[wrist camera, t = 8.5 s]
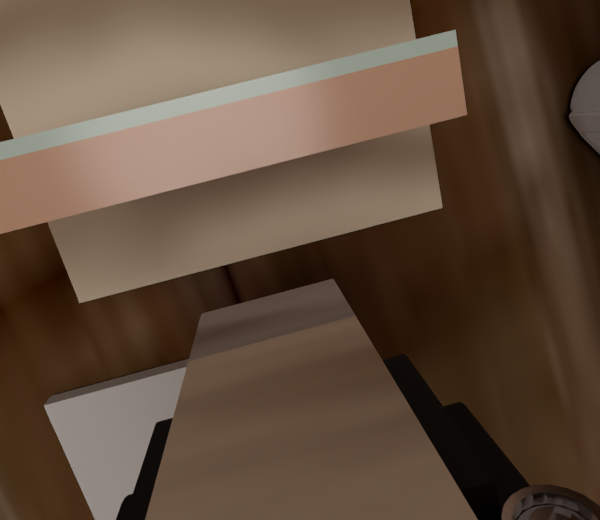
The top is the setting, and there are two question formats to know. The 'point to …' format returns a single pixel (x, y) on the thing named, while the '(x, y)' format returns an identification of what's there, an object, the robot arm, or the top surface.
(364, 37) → the oak board
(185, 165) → the tile
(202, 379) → the wooden block
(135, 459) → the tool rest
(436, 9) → the top surface
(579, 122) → the photo printer
